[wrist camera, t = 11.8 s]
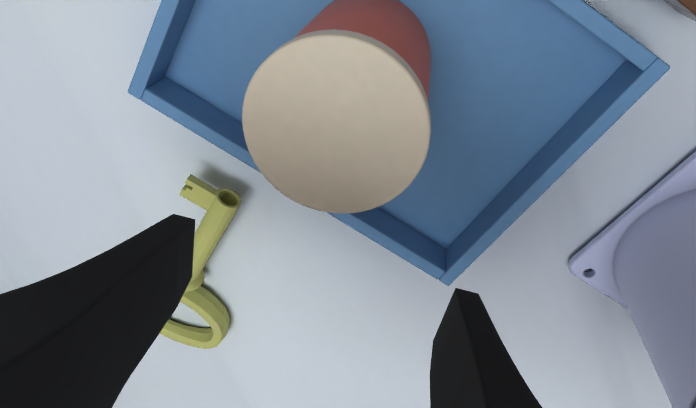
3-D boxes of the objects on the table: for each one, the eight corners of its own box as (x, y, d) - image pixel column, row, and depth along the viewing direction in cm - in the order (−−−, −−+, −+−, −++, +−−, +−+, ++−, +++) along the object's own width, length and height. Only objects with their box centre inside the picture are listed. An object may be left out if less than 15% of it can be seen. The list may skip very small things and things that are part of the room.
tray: (648, 50, 19) (672, 67, 17) (447, 256, 25) (448, 286, 23) (275, -231, 17) (253, -248, 15) (153, 75, 23) (126, 92, 21)
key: (252, 175, 25) (237, 197, 23) (228, 345, 31) (215, 372, 29) (110, 135, 25) (84, 154, 23) (116, 313, 31) (96, 338, 30)
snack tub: (460, 35, 19) (470, 102, 13) (389, 143, 22) (369, 242, 16) (339, -40, 19) (287, -7, 12) (281, 81, 22) (215, 159, 15)
